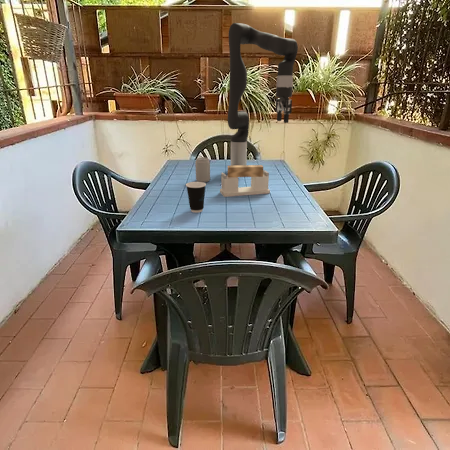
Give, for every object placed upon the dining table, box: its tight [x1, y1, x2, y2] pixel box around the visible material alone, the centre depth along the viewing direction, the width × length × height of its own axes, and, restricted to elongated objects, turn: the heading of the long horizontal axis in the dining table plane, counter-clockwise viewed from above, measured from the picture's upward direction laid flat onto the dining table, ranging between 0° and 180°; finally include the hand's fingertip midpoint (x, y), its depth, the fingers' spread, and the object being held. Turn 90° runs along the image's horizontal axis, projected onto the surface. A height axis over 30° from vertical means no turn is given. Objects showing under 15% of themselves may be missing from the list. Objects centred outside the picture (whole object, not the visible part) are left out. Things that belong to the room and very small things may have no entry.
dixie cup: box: [185, 181, 207, 214], centre depth 139 cm, size 8×8×11 cm
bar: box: [227, 164, 264, 178], centre depth 160 cm, size 16×4×4 cm, turn 93°
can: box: [194, 157, 211, 183], centre depth 182 cm, size 8×8×12 cm
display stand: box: [219, 169, 271, 198], centre depth 162 cm, size 22×8×10 cm, turn 104°
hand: (282, 121), depth 170 cm, fingers open, 8 cm apart
